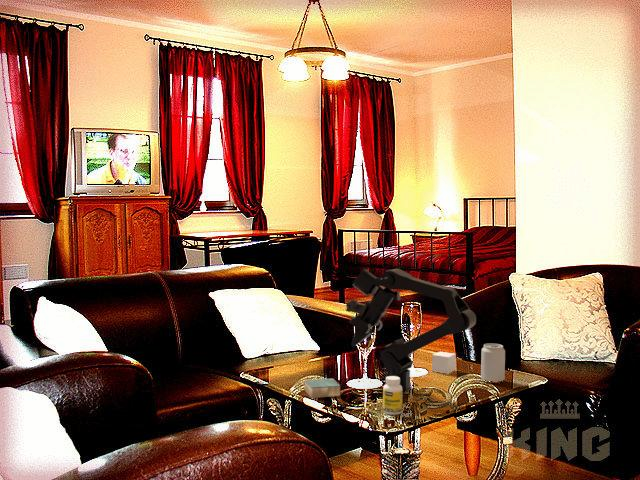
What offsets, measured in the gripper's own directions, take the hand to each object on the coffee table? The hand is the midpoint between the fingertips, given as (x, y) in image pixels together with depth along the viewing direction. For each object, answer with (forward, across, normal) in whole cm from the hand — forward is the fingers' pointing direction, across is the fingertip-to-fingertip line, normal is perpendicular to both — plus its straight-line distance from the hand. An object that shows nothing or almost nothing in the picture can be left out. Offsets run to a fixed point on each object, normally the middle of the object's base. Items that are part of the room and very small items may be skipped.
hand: (352, 345), depth 218 cm
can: (-12, -22, +41) cm, 48 cm away
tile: (+12, +6, +4) cm, 14 cm away
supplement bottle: (+4, +19, +24) cm, 30 cm away
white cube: (-4, -29, +26) cm, 39 cm away
